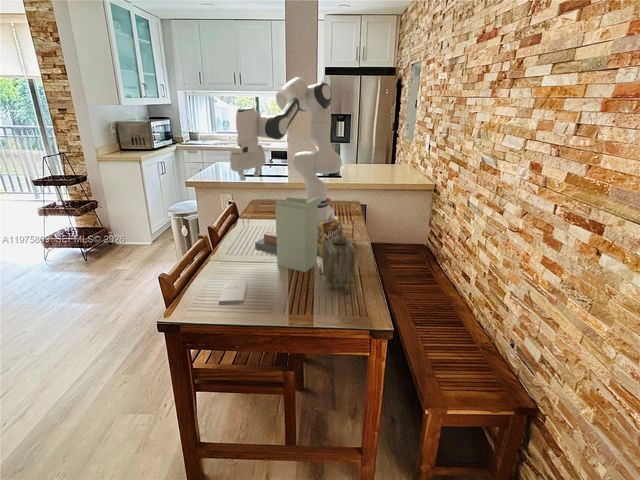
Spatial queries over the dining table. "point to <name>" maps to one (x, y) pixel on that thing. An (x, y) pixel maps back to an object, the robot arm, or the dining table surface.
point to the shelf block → (297, 232)
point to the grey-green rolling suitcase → (339, 260)
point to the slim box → (270, 238)
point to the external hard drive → (233, 293)
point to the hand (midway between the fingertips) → (249, 178)
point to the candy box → (326, 232)
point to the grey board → (265, 246)
